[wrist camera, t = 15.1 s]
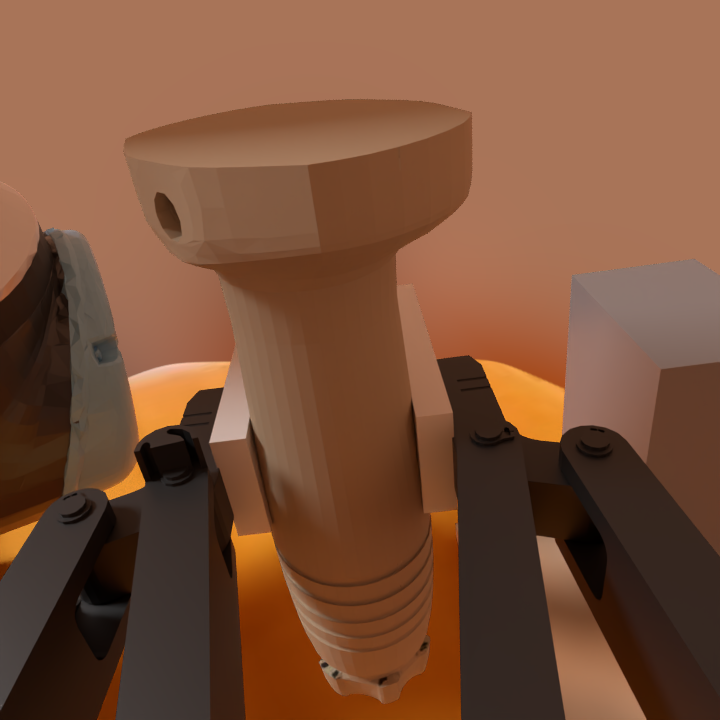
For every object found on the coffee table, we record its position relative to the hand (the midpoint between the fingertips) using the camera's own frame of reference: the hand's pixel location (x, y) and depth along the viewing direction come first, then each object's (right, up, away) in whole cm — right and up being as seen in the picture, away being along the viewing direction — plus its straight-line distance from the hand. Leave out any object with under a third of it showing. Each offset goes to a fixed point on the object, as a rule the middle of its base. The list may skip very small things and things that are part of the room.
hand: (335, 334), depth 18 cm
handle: (+1, -10, 0) cm, 10 cm away
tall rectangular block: (+16, -11, +14) cm, 24 cm away
